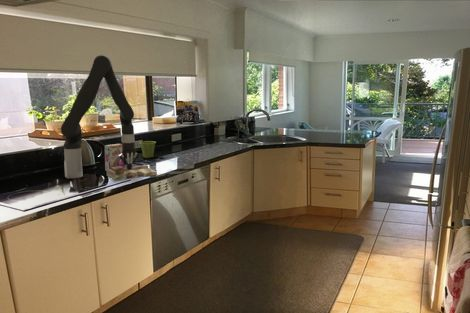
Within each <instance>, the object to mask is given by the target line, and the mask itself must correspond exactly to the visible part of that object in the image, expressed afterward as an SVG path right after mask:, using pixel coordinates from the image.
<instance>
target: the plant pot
mask: <svg viewBox="0 0 470 313" xmlns="http://www.w3.org/2000/svg"><path fill="white" fill-rule="evenodd" d="M156 143H157V141H153V140H146V141H140V142H139V144H140V147H141V151H142V157H143V158H144V159H150V158H151V157H152V158H154V154H155V153H154V152H155V146H156Z"/></svg>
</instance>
